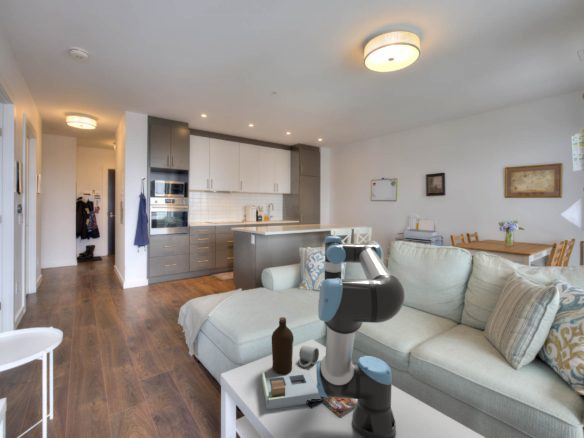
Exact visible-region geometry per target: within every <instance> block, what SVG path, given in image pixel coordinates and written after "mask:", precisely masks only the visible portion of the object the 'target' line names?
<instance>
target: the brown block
mask: <svg viewBox="0 0 584 438" xmlns="http://www.w3.org/2000/svg"><path fill="white" fill-rule="evenodd" d="M271 393H272V397H273V398H274V397H281V396H284V397H285V385H284V382H283V380H279V381H271Z"/></svg>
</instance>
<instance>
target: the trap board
mask: <svg viewBox="0 0 584 438" xmlns="http://www.w3.org/2000/svg"><path fill="white" fill-rule="evenodd" d="M261 374H262V376H261V381H262V382H261V384H262V389H263V395H264V400H265V401H264V402H265V408H266V410H267V411H268V410H273V409H280V408H287V407H293V406H300V405H305V404H306V401H307V400H310V399H321V400H322V396H320V395H319V392H318V387H317V383H316V382H315V380H314V378H313V375H312V373H311V372H304V373H302V372H301V373H296V374H295V373H294V374H288V375H286V374H285V375H280V376H278V375H277V376H273V377H270V376H269V377H266V375H265V371H262V372H261ZM279 380H283V382H284V385H285V397H284V396H281V397H274V398H273V397H272V393H271V381H279Z"/></svg>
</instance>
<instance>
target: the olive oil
mask: <svg viewBox="0 0 584 438" xmlns="http://www.w3.org/2000/svg"><path fill="white" fill-rule="evenodd" d="M278 320H279V321H278V327H277V328H275V329H274V331H273V332H272V335H271V355H272V371H273V372H274V373H275V374H278V375H286V374H289V373H290V372H291V371H292V369H293V355H294V334H293V332H292V331H291V329H290V328H289V327H288V326H287V318H286V317H284V316H283V317H282V316H281V317H279V319H278Z"/></svg>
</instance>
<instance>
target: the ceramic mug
mask: <svg viewBox="0 0 584 438" xmlns="http://www.w3.org/2000/svg"><path fill="white" fill-rule="evenodd" d="M319 354H320V351H319V348H318V347H315V346H310V345H302V346H301V348H300V349H299V360H298V364H299V366H300V368H301V367H302V368H308V367H309V366H310V365H317V362H318V361H319V357H320V355H319ZM301 361H303V362H306V364H302V363H301Z"/></svg>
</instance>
